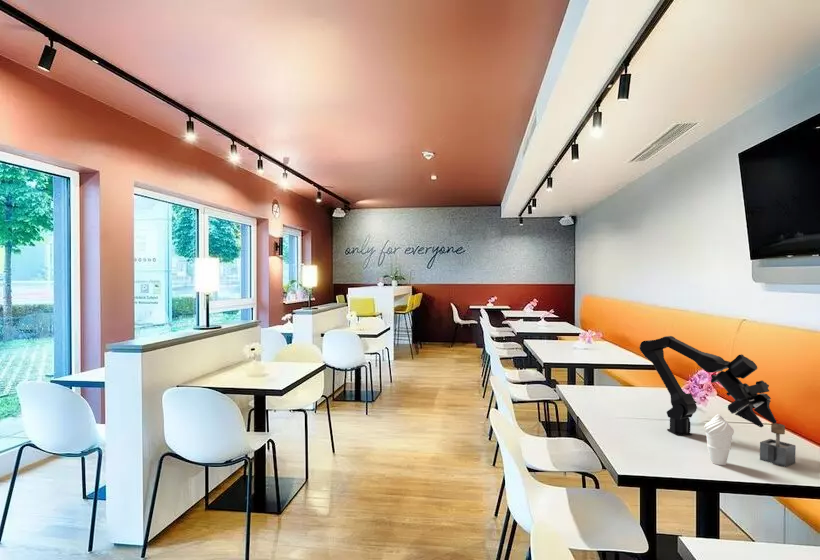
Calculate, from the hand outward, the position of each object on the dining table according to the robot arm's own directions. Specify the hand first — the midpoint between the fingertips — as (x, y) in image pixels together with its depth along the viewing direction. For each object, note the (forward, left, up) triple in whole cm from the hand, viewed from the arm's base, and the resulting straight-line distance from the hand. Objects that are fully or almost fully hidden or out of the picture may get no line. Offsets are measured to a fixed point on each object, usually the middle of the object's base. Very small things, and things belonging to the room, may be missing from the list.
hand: (769, 424), depth 159 cm
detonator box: (+1, -2, -12) cm, 12 cm away
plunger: (+1, -2, -7) cm, 7 cm away
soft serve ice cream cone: (-20, -2, -12) cm, 24 cm away
